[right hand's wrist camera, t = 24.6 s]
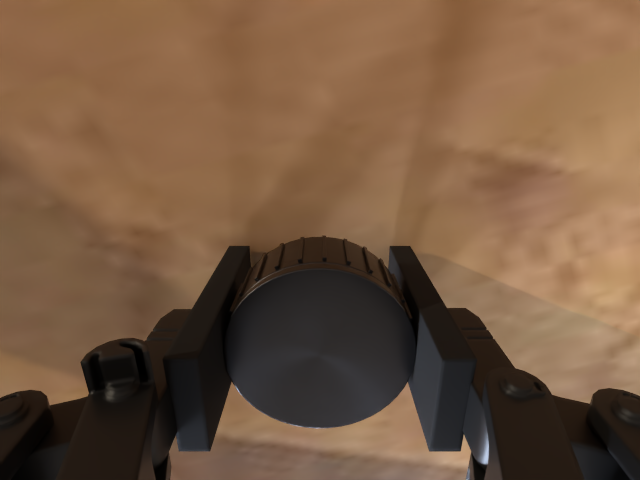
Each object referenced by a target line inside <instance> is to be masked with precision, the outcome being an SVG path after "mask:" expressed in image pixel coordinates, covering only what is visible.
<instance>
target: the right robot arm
mask: <svg viewBox="0 0 640 480" xmlns="http://www.w3.org/2000/svg"><path fill="white" fill-rule="evenodd" d="M250 267H251V261H250V247H249V246H229V248H228V249H227V251H226V253H225V254H224V256H223V258H222V259H221V261H220V263H219V264H218V266H217V268H216V270H215V271H214V273H213V275H212V276H211V278H210V280H209V281H208V283H207V285H206V286H205V288H204V290H203V291H202V293H201V295H200V296H199V298H198V300H197V302H196V303H195V305H194V307H193V308H192V309H174V310H172V311H171V312H170V313H168V314H167V315H165V316H164V317H162V318H161V319H160V320H159V322H158V323H157V325H156V326H155V327H154V329H153V331H152V332H151V333H150V335H149V336H148V337H147V341H145V342H144V341H143V340H139V339H135V338H124V339H118V340H114V341H110V342H107V343H105V344H103V345H100V346H98V347H96V348H95V349H93V350H92V351H90V352H89V353H88V354H86V356H85V357H84V358H83V360H82V361H81V366H82V369H83V373H84V377H85V380H86V384H87V387H88V391H89V395H88V397H84V398H81V399H77V400H72V401H68V402H64V403H59V404H55V405H49V402H48V398H47V396H46V395H45V394H44V393H42V392H41V391H35V390H27V391H20V392H15V393H12V394H9V395H6V396H4V397H1V398H0V480H170V474H171V462H170V456H169V450H170V447H171V445H172V443H173V440H174V438H175V436H176V438H177V443H178V449H179V451H210V450H211V447H212V444H213V440H214V437H215V434H216V431H217V427H218V424H219V421H220V418H221V414H222V411H223V408H224V404H225V401H226V398H227V395H228V391H229V388H230V385H231V382H232V380H231V378H230V376H229V374H228V372H227V368H226V365H225V361H224V353H223V340H224V335H225V330H226V327H227V324H228V321H229V319H230V316H231V314H229V311H230V308H231V306H232V304H233V301H234V299H235V296H236V294H237V292H238V289H239V287H240V284H241V283H244V281H245V278H246V276H247V273H248V271H249V269H250ZM388 270H389V271H390V273H391V274H392V273H394V275H395V277H396V280H397V282H398V285H399V287H400V289H401V291H402V293H403V296H404V298H405V300H406V303H407V305H408V308H409V310H410V313H411V315H412V317H413V321H411V323H412V325H413V328H414V332H415V336H416V347H417V349H416V359H415V363H414V368H413V371H412V373H411V376H410V378H409V380H408V383H409V387H410V390H411V393H412V396H413V400H414V403H415V406H416V409H417V413H418V416H419V419H420V422H421V426H422V429H423V432H424V435H425V439H426V442H427V445H428V448H429V451H461V446H462V440H463V435H465V437H466V440H467V442H468V444H469V447H470V449H471V456H470V461H469V466H468V471H467V476H466V480H640V396H638V395H636V394H633V393H630V392H627V391H624V390H618V389H611V388H607V389H600V390H598V391H597V392H595V393H594V394H593V396H592V399H591V403H590V404H588V403H583V402H579V401H574V400H570V399H565V398H561V397H557V396H554V395H552V394H551V392H550V391H549V389H548V388H547V386H546V385H545V384H544V383H543V382H542V381H540V380H539V379H538V378H537V377H535V376H533V375H531V374H529V373H527V372H525V371H522V370H519V369H515V367H514V366H513V365H512V363H511V362H510V360H509V359H508V358H507V356H506V355H505V353H504V352H503V351H502V349H501V348H500V346H499V345H498V344H497V342H496V341H495V339H493V337H492V335H491V334H490V332H489V331H488V330H486V327H485V325H484V324H483V323H482V321H481V320H480V318H479V317H478V316H476V315H475V314H473V313H472V312H470V311H469V310H467V309H466V308H446V306H445V304H444V303H443V301H442V299H441V297H440V296H439V294H438V292H437V291H436V289H435V287H434V286H433V284H432V282H431V281H430V279H429V277H428V276H427V274H426V272H425V271H424V269H423V267H422V265H421V264H420V262H419V260H418V259H417V257H416V255H415V254H414V252H413V250H412V249H411V247H410V246H390V253H389V267H388Z"/></svg>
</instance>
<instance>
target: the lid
mask: <svg viewBox="0 0 640 480" xmlns="http://www.w3.org/2000/svg"><path fill="white" fill-rule="evenodd" d="M229 314H231V316H230V319H229V321H228V324H227V327H226V330H225V335H224V340H223V353H224V361H225V365H226V368H227V372H228V374H229V376H230V378H231V380H232V382H233V384H234V385H235V387H236V389H237V390H238V391H239V393H240V394H241V395H242V396H243V397H244V398H245V399H246V400H247V401H248V402H249V403H250V404H251V405H252V406H254V407H255V408H256V409H258V410H259V411H261V412H262V413H264V414H266V415H268V416H270V417H271V418H274V419H276V420H278V421H281V422H284V423H287V424H291V425H295V426H300V427H306V428H333V427H340V426H345V425H350V424H353V423H356V422H359V421H362V420H364V419H366V418H368V417H370V416H372V415H374V414H376V413H377V412H379V411H381V410H382V409H383V408H385V407H386V406H387V405H389V404H390V403H391V402H392V401H393V400H394V399H395V398H396V397H397V396H398V395H399V393H400V392H401V391H402V390H403V388H404V387H405V385H406V383H407V382H408V380H409V378H410V376H411V373H412V371H413V368H414V363H415V359H416V349H417V347H416V336H415V332H414V328H413V325H412V323H411V321H413V317H412V315H411V313H410V310H409V308H408V305H407V303H406V300H405V298H404V296H403V293H402V291H401V289H400V287H399V285H398V282H397V280H396V277H395V275H394V273H392V274H391V273H390V271H389V270H388V269H387V268H386V266H385V265H384V262H383V260H382V259H381V258H380V259H378V258H377V257H376V256H375V255H373V254H372V253H370V252H369V251H368V250H367V248H366V247H363V248H362V247H360V246H359V245H357V244H354V243H351V242H348V241H347V239H344V240H341V239H337V238H329V237H326V236H322V237H310V238H304V237H301V239H298V240H295V241H291V242H288V243H286V244H284V243H282V244H280V246H279V247H277V248H276V249H274V250H272V251H270V252H269V253H268V254H266V253H265V254H263V256H262V259H261V260H260V261H259V262H258V263H257V264H256V265H255V266H254V267H253V268H252V267H250V269H249V271H248V273H247V276H246V278H245V281H244V283H241V284H240V287H239V289H238V292H237V294H236V296H235V299H234V301H233V304H232V306H231V308H230V311H229Z"/></svg>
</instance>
